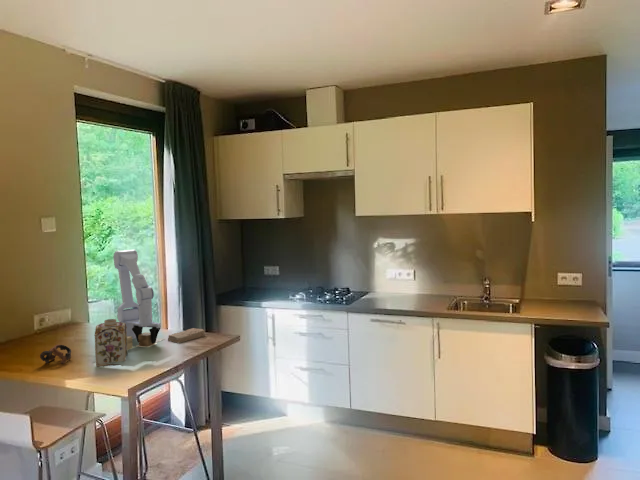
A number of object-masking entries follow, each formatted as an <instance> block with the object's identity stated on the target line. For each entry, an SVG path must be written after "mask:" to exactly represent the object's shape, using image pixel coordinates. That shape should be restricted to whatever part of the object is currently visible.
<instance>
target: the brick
mask: <svg viewBox="0 0 640 480" xmlns="http://www.w3.org/2000/svg"><path fill="white" fill-rule="evenodd" d="M205 334H206V332H205V329H203V328H195V327H192V328H188V329H186V330H184V331H178V332H175V333H172V334H169V335H168V337H167V341H168V342H172V343H175V344H176V343H177V344H181V343H183V342H187V341H190V340H194V339H197V338H202V337H206V335H205Z"/></svg>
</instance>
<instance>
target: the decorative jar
mask: <svg viewBox="0 0 640 480" xmlns="http://www.w3.org/2000/svg"><path fill="white" fill-rule="evenodd" d="M126 328H127V327H126V324H125V323H122V322H119V321H117V319H116V318H108V319H105V320H104V322H103V323H101V322H100V323H98V324H97V325H96V326H95V329H94V330H95V331H94V351H95V356H94V357H95V365H96V367H97V368H98V367H110V366H120V365H121V364H117V362H118V363H119V362H126V361H127V360H126V359H127V356H128V351H127V329H126Z"/></svg>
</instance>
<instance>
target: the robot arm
mask: <svg viewBox="0 0 640 480" xmlns="http://www.w3.org/2000/svg"><path fill="white" fill-rule="evenodd" d="M112 256H113V257H112V258H113V265H114V269H116V270H117V271H118V277H119V285H120V293H121V300H122V303H121V304H120V305H119V306H118V307H117V314H116V315H117V316H116V317H117V322H122V323H125V324H126V327H127V328H126V329H127V336H132V340H137V343H138V344H139V339H138V335H140V334H142V333H143V328H149V329H148V331H149V333H150V334H151V342H152V344H154V343H156V338H158V334H159V332H160V330H161V328H162V324H161V323H160V322H155V321H153V304H152V302H153V301H152V300H153V298H154V297H155V296H154V293H155V292H154V289H153V287H152V286H151V285H150V284H148V282H147V279H146V277H145V276H144V274H141V271H140V269H139V266H138V261H139V253H138V252H137V250H136V249H128V250H116V251H115V252H114V253H113V255H112ZM130 274H131V275H130ZM131 277H132V278H131ZM131 282H132V283H131ZM132 284H133V286H134V289H135V291H136V292H135V297H136V302H135V301H134V295H133V289H132Z"/></svg>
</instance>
